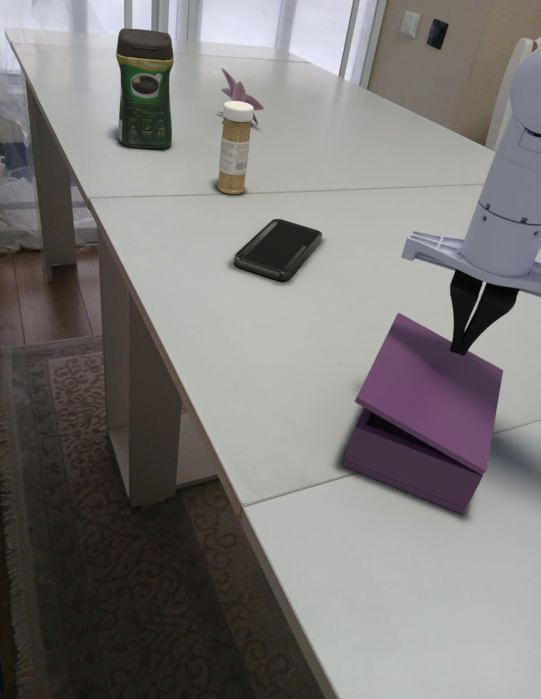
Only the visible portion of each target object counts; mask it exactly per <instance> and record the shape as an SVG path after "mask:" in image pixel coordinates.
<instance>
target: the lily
mask: <svg viewBox="0 0 541 699" xmlns="http://www.w3.org/2000/svg"><path fill="white" fill-rule="evenodd" d="M221 71H222V74H223V75H224V77H225V79H226V82H227V84H228V87H227V88H226V87H225V88H222V89H221V92H222V93H224V94H225V95H226V96H227V97H229V98H230V99H231V101H240V102H245V103H248V104H250V105H252V106H253V108H254V111H262V110H265V108H264V106H263V105H262V103H260V102H259V101H258V100H257V99H256V98H255V97H254V96H252V95H250V94H247V92H246V90H245V86H244V84H243V83H242V81H238V82H236V80H235V79H234V78H233V76H232V75H230V73H228V72H227V70H225V69H224V68H223V67H222V68H221ZM223 121H224V119H223V120H222V122H221V124H222V125H223ZM252 121H254V123H255V124H256V125H258V126H259V123H258V119H257V117H256V115H255V113H254V112H253V119H252Z"/></svg>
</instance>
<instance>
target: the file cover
mask: <svg viewBox="0 0 541 699" xmlns="http://www.w3.org/2000/svg"><path fill="white" fill-rule="evenodd" d="M451 344H452V340H449V339H448V338H446V337H444V336H442V335H441V334H439V333H437V332H435V331H433V330H431V329H430V328H428V327H426V326H424V325H422V324H420V323H418V321H415V320H413V319H412V318H410V317H408V316H406V315H404V314H402V313H400V312H397V314H396V316H395V317H394V320H393V322H392V324H391V326H390V328H389V330H388V332H387V333H386V336H385V338H384V340H383V342H382V344H381V346H380V348H379V350H378V352H377V354H376V356H375V358H374V361H373V363H372V364H371V367H370V369H369V371H368V373H367V375H366V376H365V379H364V381H363V383H362V385H361V387H360V389H359V391H358V393H357V396H356V397H355V399H354V403H356V404H357V405H359V406H361V407H363V408H366V409H368V410H370V411H371V412H373V413H375V414H377V415H378V416H380V417H382V418H383V419H385V420H387V421H389V422H390V423H392V424H394V425H396V426H397V427H399V428H401V429H403V430H404V431H406V432H408V433H410V434H411V435H413V436H415V437H417V438H418V439H420V440H422V441H424V442H425V443H427V444H429V445H431V446H432V447H434V448H436V449H438V450H439V451H441V452H443V453H444V454H446V455H448V456H450V457H451V458H453V459H455V460H457V461H458V462H460V463H462V464H464V465H465V466H467V467H469V468H471V469H472V470H474V471H476V472H478V473H479V474H481V475H483V476H484V474H486V472H487V471H488V465H489V458H490V453H491V447H492V440H493V434H494V428H495V423H496V415H497V411H498V410H497V409H498V405H499V398H500V392H501V387H502V380H503V375H504V369H502V368H501V367H498V366H497V365H495V364H493V363H492V362H489V361H488V360H485V359H484V358H482V357H480V356H479V355H477V354H475V353H473V352H472V351H470V350H468V351H467V353H466V355H465V356H462V355H459V354H456V353H454V352H451V351H450V348H451Z"/></svg>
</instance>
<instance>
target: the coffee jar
mask: <svg viewBox="0 0 541 699" xmlns="http://www.w3.org/2000/svg"><path fill="white" fill-rule="evenodd" d="M115 57H116V61H117V64H118V67H119V72H120V95H119V96H120V97H119V109H118V110H119V111H118V130H117V132H118V139H119V141H120V143H121V144H124V145H125V146H127V147H134V148H141V149H142V148H143V149H165V148H167V147H169V146H171V145H172V143H173V125H172V124H173V123H172V122H173V121H172V112H171V111H172V110H171V97H170V75H171V71H172V68H173V66H174V60H175V57H174V48H173V41H172V37H171V35H170V33H168V32H164V31H158V30H151V29H150V30H149V29H141V28H126V27H125V28H120V30H119V32H118V37H117V43H116V51H115Z"/></svg>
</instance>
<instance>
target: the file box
mask: <svg viewBox="0 0 541 699" xmlns="http://www.w3.org/2000/svg"><path fill="white" fill-rule="evenodd" d="M342 467H345V468H347V469H349V470H351V471H354V472H357V473H359V474H362V475H363V476H366V477H369V478H371V479H374V480H376V481H378V482H381V483H384V484H386V485H389V486H391V487H393V488H396V489H398V490H401V491H404V492H405V493H408V494H410V495H413V496H416V497H418V498H421V499H423V500H426V501H428V502H431V503H432V504H435V505H438V506H440V507H443V508H445V509H448V510H450V511H453V512H454V513H458V514H460V515H464V514H465V511H466V510H467V508H468V506H469V504H470V502H471V500H472V499H473V496H474V494H475V492H476V491H477V489H478V487H479V485H480V483H481V481H482V479H483V477H484V474H483V475H481V474H479V473H478V472H476V471H474V470H472V469H471V468H469V467H467V466H465V465H464V464H462V463H460V462H458V461H457V460H455V459H453V458H451V457H450V456H448V455H446V454H444V453H443V452H441V451H439V450H438V449H436V448H434V447H432V446H431V445H429V444H427V443H425V442H424V441H422V440H420V439H418V438H417V437H415V436H413V435H411V434H410V433H408V432H406V431H404V430H403V429H401V428H399V427H397V426H396V425H394V424H392V423H390V422H389V421H387V420H385V419H383V418H382V417H380V416H378V415H377V414H375V413H373V412H371V411H370V410H368V409H366V408H364V407H363V408H362V410H361V412H360V415H359V416H358V418H357V421H356V423H355V425H354V427H353V432H352V434H351V438H350V441H349V444H348V448H347V450H346V455H345V457H344V461H343V464H342Z"/></svg>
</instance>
